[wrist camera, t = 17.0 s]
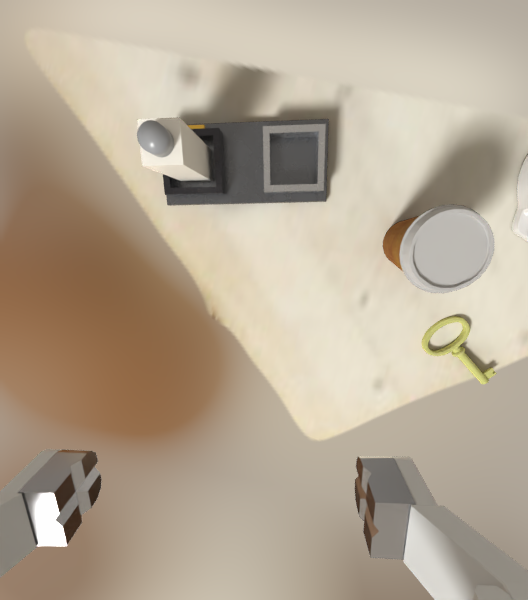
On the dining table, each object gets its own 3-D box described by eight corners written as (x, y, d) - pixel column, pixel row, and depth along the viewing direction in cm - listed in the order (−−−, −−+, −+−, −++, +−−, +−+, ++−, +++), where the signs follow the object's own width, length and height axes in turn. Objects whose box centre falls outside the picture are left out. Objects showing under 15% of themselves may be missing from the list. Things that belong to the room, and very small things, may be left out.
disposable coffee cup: (424, 283, 45) (475, 305, 33) (362, 266, 44) (391, 283, 33) (451, 217, 42) (516, 217, 30) (384, 200, 42) (425, 193, 30)
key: (478, 380, 49) (487, 387, 46) (414, 345, 48) (420, 350, 46) (509, 344, 47) (519, 350, 45) (442, 306, 46) (450, 310, 44)
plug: (210, 149, 40) (172, 109, 26) (212, 181, 41) (176, 160, 27) (181, 150, 41) (126, 111, 26) (183, 182, 42) (132, 162, 27)
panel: (327, 121, 40) (331, 112, 36) (325, 201, 42) (328, 200, 39) (162, 127, 41) (152, 119, 38) (170, 205, 43) (160, 204, 40)
